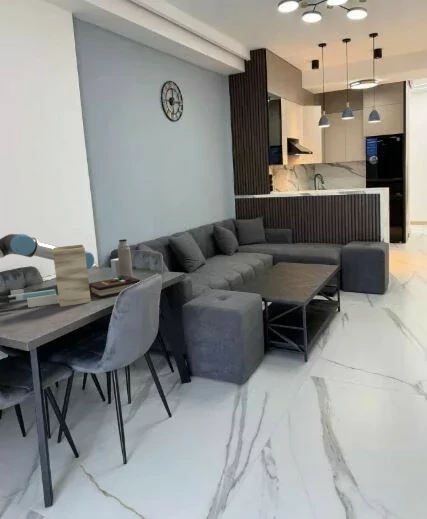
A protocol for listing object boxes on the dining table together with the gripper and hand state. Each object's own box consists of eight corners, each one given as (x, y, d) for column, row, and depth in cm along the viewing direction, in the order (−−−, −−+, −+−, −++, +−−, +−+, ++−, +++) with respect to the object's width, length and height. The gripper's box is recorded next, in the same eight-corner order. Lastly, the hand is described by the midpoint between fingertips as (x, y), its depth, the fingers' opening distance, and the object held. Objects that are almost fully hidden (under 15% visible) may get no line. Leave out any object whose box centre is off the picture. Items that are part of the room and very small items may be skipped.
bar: (9, 301, 238) (8, 295, 238) (55, 294, 247) (55, 289, 246) (8, 302, 236) (7, 296, 235) (56, 295, 244) (55, 290, 243)
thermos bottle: (124, 280, 290) (120, 238, 286) (135, 281, 288) (131, 238, 283) (118, 283, 283) (114, 240, 278) (129, 283, 280) (125, 240, 276)
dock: (28, 304, 244) (27, 295, 244) (57, 300, 250) (55, 291, 249) (28, 307, 237) (27, 298, 236) (57, 303, 242) (56, 294, 242)
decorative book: (83, 282, 259) (130, 273, 275) (85, 295, 260) (131, 285, 277) (95, 287, 243) (144, 277, 260) (96, 300, 244) (145, 290, 261)
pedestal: (59, 302, 244) (52, 247, 238) (89, 298, 249) (82, 244, 244) (60, 306, 234) (52, 249, 229) (90, 302, 240) (84, 245, 235)
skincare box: (122, 278, 298) (120, 257, 295) (128, 279, 294) (125, 257, 291) (112, 281, 292) (109, 259, 289) (117, 282, 288) (115, 260, 285)
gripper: (-17, 301, 244) (24, 296, 251) (-23, 312, 221) (23, 306, 228) (-19, 288, 242) (23, 283, 250) (-25, 298, 219) (21, 291, 227)
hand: (23, 294), depth 239 cm, fingers open, 13 cm apart
